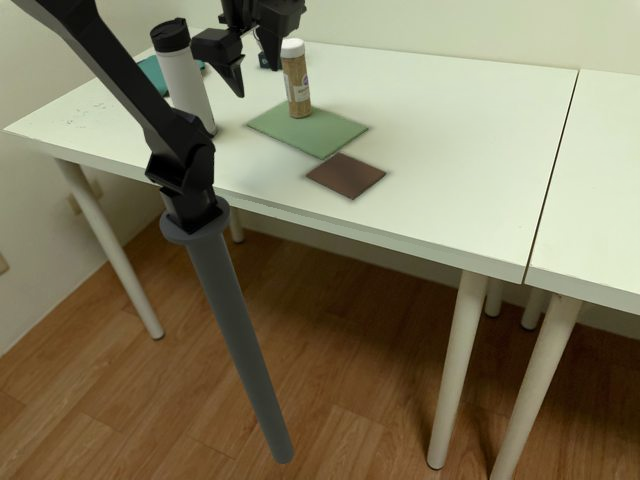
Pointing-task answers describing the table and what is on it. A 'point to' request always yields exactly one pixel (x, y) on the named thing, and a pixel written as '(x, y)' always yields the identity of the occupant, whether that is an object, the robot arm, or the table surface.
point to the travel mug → (182, 70)
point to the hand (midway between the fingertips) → (258, 83)
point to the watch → (261, 55)
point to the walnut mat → (346, 175)
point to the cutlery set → (157, 72)
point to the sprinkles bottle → (296, 77)
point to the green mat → (308, 130)
